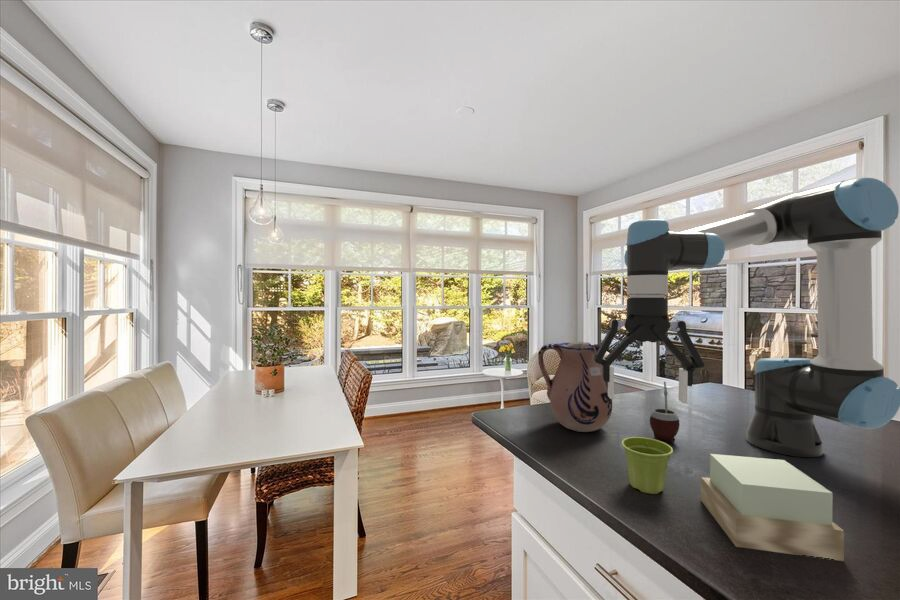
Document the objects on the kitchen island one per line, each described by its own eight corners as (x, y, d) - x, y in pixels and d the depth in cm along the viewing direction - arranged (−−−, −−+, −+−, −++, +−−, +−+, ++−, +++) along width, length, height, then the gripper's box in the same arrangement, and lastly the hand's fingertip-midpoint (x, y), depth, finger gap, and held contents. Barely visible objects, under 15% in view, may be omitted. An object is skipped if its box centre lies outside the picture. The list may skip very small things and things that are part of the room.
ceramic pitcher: (619, 440, 105) (619, 348, 104) (540, 435, 108) (540, 347, 108) (604, 419, 122) (605, 341, 122) (536, 416, 126) (536, 339, 125)
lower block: (786, 512, 71) (786, 485, 71) (843, 564, 57) (844, 530, 57) (700, 502, 74) (701, 477, 74) (736, 549, 61) (736, 517, 60)
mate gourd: (662, 446, 100) (663, 389, 100) (641, 436, 108) (642, 382, 108) (687, 444, 102) (687, 388, 101) (664, 433, 109) (665, 381, 109)
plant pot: (680, 501, 74) (680, 456, 74) (627, 496, 76) (627, 452, 76) (663, 478, 83) (663, 438, 83) (617, 474, 85) (617, 435, 85)
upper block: (783, 487, 70) (784, 460, 70) (832, 525, 58) (832, 493, 58) (709, 479, 73) (710, 453, 73) (741, 515, 61) (742, 484, 61)
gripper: (708, 296, 79) (707, 398, 80) (581, 296, 85) (580, 391, 86) (724, 296, 72) (723, 409, 72) (584, 296, 78) (583, 400, 79)
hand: (646, 399), depth 79 cm, fingers open, 13 cm apart
